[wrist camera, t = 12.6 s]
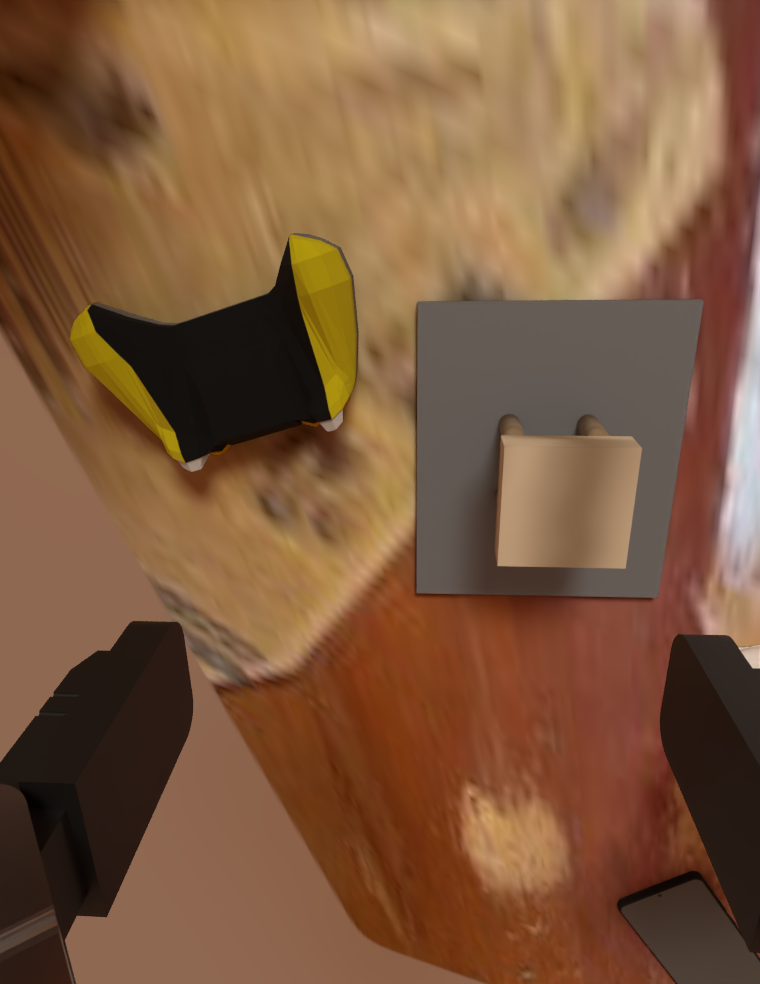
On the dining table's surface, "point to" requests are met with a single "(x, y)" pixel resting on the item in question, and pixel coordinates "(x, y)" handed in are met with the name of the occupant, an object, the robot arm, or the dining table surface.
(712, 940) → the smartphone
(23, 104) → the dining table surface
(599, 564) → the stool
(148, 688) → the robot arm
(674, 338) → the mat
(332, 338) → the gaming controller
